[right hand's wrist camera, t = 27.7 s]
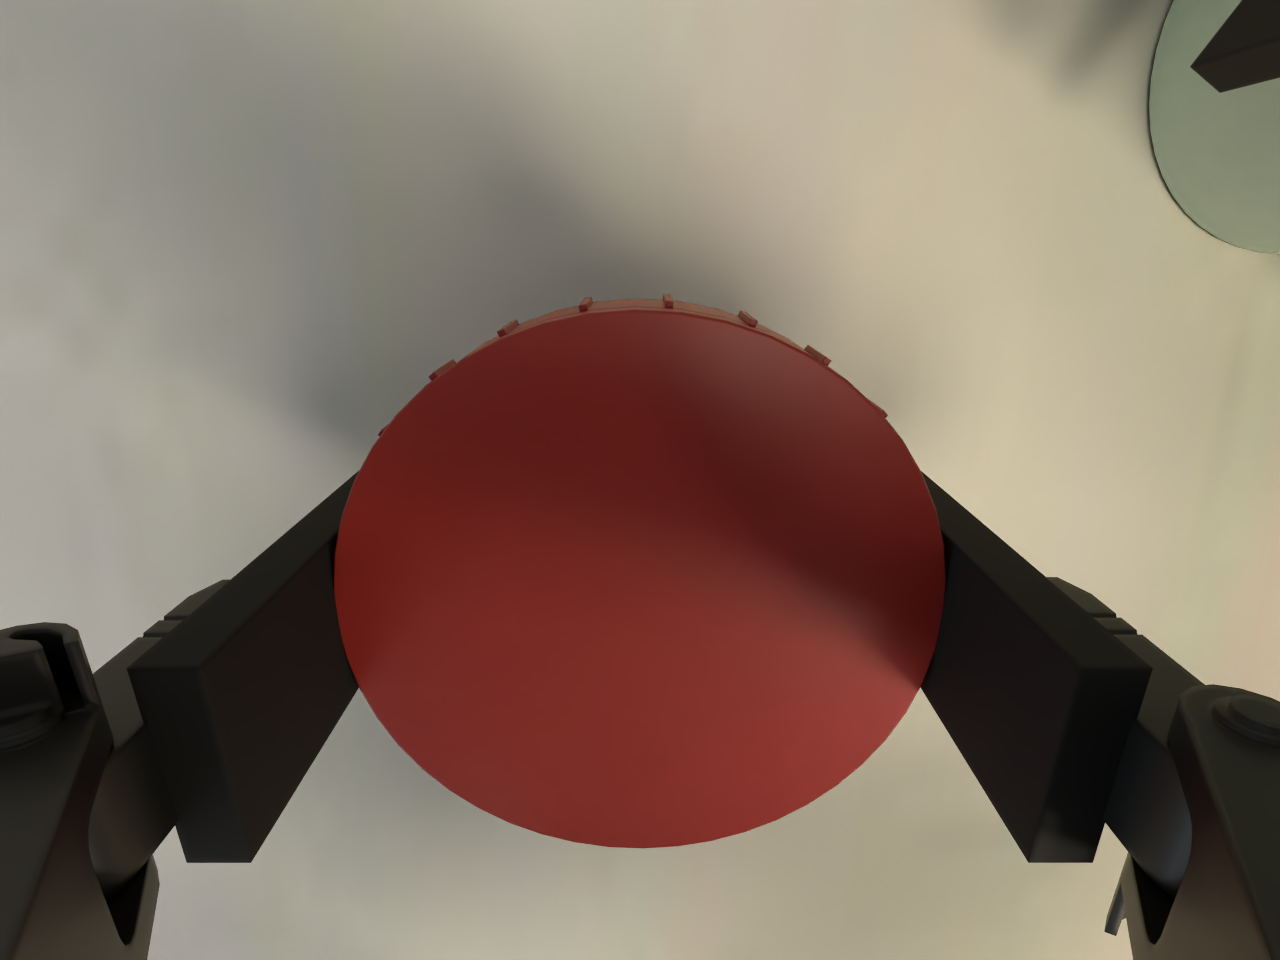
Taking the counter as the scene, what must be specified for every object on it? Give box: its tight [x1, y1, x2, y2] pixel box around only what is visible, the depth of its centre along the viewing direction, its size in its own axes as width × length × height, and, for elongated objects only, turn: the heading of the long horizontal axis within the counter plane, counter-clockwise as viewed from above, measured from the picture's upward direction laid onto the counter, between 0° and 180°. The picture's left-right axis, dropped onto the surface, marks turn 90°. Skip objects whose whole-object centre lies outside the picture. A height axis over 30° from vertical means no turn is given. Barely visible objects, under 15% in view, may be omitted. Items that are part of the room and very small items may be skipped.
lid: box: [334, 294, 946, 848], centre depth 11 cm, size 9×9×2 cm
